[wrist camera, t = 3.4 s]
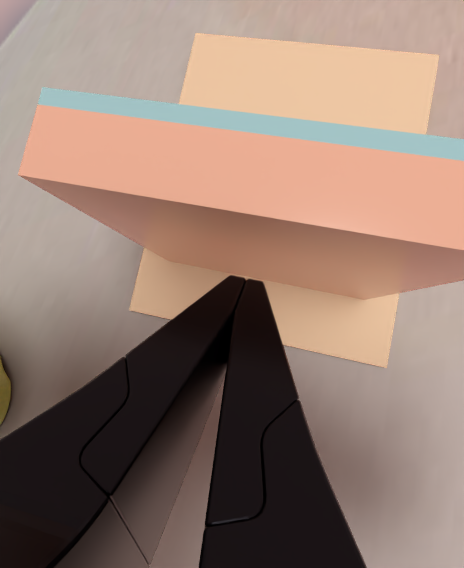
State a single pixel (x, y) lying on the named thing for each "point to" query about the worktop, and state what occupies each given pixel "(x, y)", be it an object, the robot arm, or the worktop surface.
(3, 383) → the plant pot
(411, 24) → the worktop surface
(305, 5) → the worktop surface
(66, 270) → the worktop surface
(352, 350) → the cork mat
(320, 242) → the tile
